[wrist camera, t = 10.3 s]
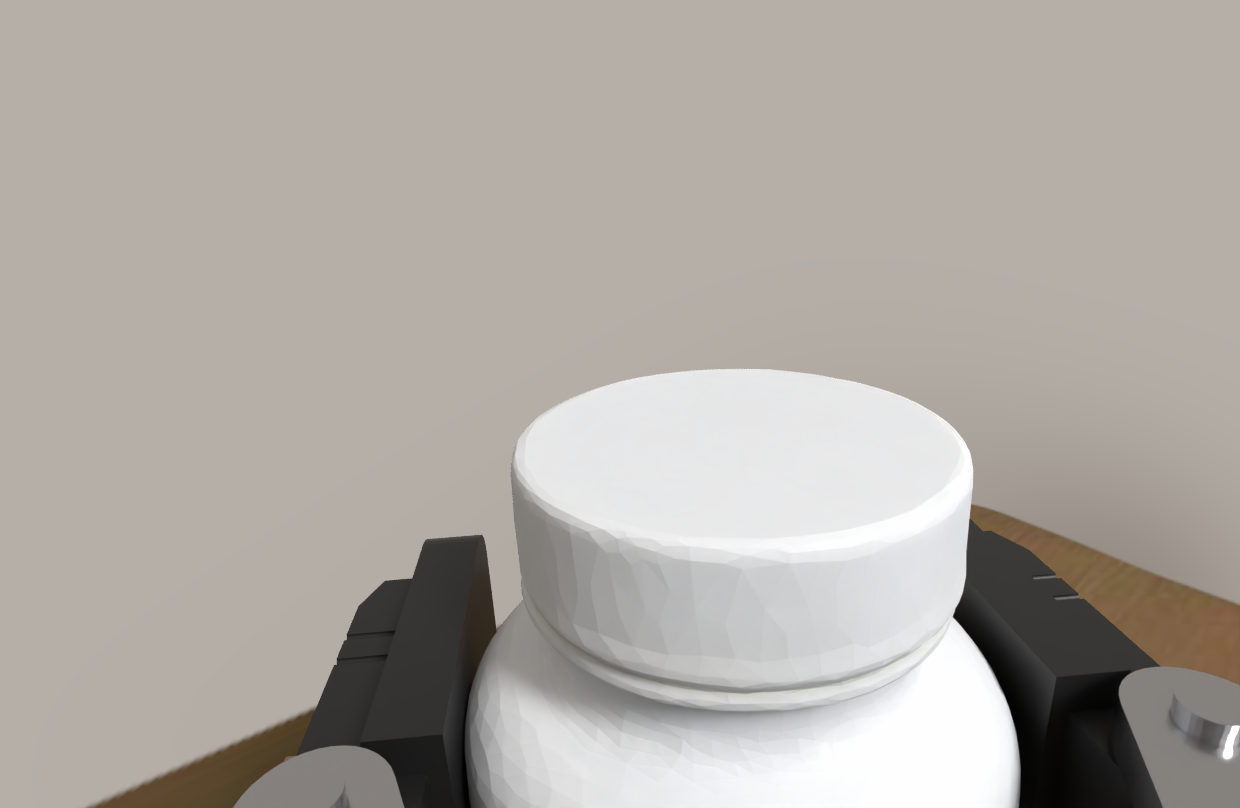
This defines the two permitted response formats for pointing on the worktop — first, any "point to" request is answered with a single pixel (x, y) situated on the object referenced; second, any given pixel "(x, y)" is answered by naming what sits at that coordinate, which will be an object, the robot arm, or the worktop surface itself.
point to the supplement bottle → (739, 606)
